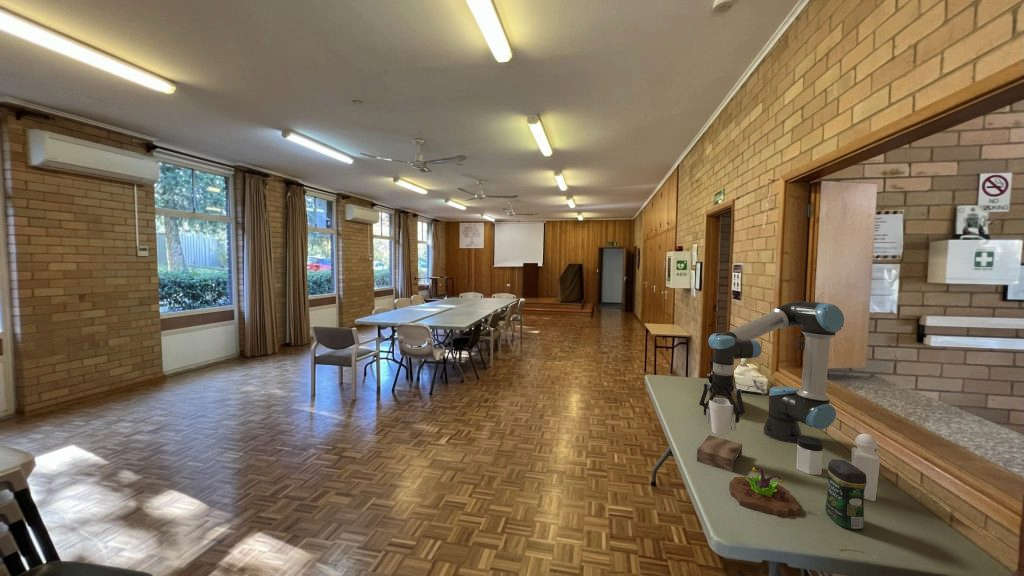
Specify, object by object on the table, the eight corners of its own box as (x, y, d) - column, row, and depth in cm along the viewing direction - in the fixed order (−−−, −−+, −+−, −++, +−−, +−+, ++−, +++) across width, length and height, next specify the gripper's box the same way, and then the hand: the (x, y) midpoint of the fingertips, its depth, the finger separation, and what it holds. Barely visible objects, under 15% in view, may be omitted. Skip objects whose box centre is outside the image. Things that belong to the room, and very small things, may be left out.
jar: (827, 472, 154) (828, 442, 153) (815, 477, 151) (817, 446, 150) (802, 462, 162) (803, 433, 161) (790, 466, 159) (791, 437, 158)
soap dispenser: (877, 502, 135) (881, 440, 133) (852, 496, 138) (856, 435, 137) (873, 493, 140) (876, 433, 139) (849, 487, 144) (852, 428, 142)
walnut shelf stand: (741, 455, 168) (742, 443, 168) (732, 472, 154) (732, 459, 154) (708, 446, 176) (709, 435, 176) (696, 461, 163) (697, 449, 162)
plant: (723, 479, 150) (724, 450, 149) (783, 487, 144) (784, 458, 143) (736, 510, 131) (738, 477, 130) (805, 522, 125) (807, 487, 124)
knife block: (703, 413, 215) (705, 357, 213) (717, 396, 242) (719, 347, 240) (727, 418, 208) (729, 360, 206) (738, 400, 235) (740, 349, 234)
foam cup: (736, 438, 159) (738, 406, 158) (711, 435, 161) (713, 404, 160) (728, 428, 168) (730, 398, 168) (705, 426, 170) (706, 397, 169)
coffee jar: (820, 510, 130) (823, 456, 129) (846, 512, 129) (849, 457, 128) (840, 530, 121) (844, 471, 119) (869, 532, 120) (873, 473, 119)
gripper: (692, 370, 167) (690, 421, 169) (751, 380, 153) (749, 436, 154) (697, 366, 173) (695, 416, 174) (755, 376, 159) (752, 430, 160)
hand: (720, 426), depth 164 cm, fingers closed on foam cup, 9 cm apart
